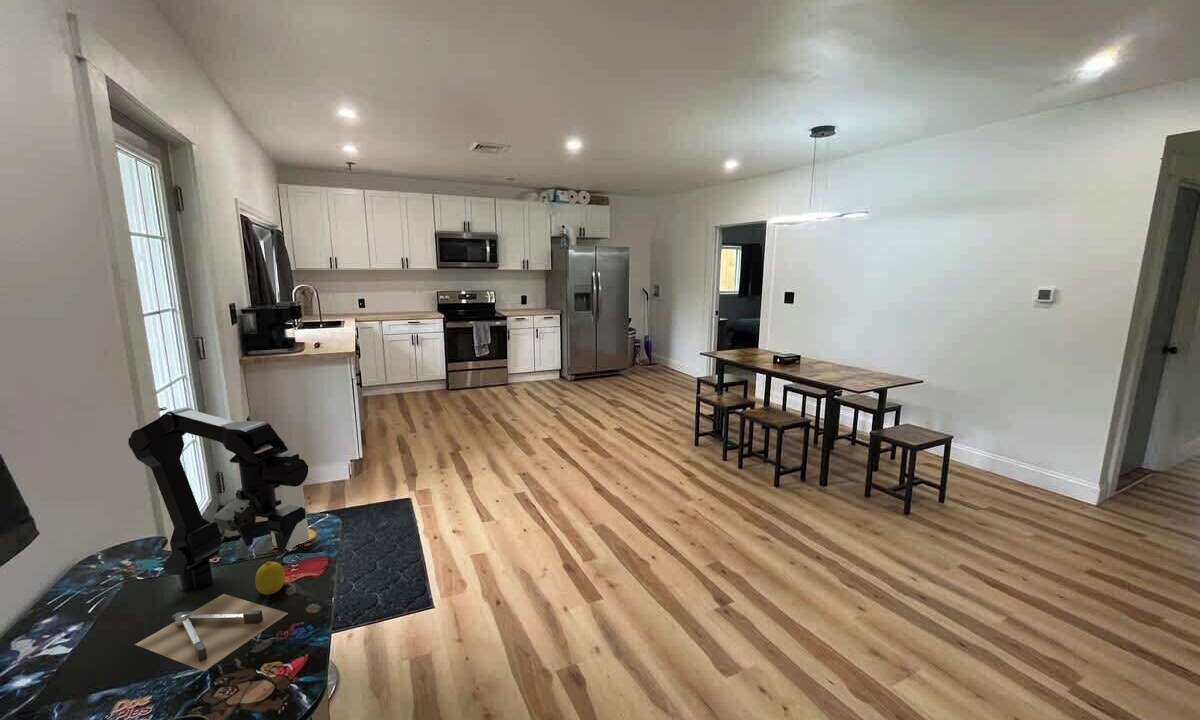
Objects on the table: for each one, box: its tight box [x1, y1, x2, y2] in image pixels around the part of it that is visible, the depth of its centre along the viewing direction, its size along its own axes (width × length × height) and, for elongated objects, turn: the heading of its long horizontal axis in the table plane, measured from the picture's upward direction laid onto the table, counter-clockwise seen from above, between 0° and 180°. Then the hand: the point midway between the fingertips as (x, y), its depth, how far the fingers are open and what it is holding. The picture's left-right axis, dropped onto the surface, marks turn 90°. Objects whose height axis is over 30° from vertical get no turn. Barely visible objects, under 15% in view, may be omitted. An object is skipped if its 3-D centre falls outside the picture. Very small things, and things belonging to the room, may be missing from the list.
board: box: [134, 593, 289, 672], centre depth 96 cm, size 20×16×1 cm
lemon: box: [254, 561, 286, 596], centre depth 108 cm, size 6×6×8 cm
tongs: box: [171, 610, 263, 662], centre depth 96 cm, size 17×12×2 cm
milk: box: [270, 482, 310, 550], centre depth 128 cm, size 6×6×22 cm
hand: (265, 548), depth 106 cm, fingers open, 9 cm apart
